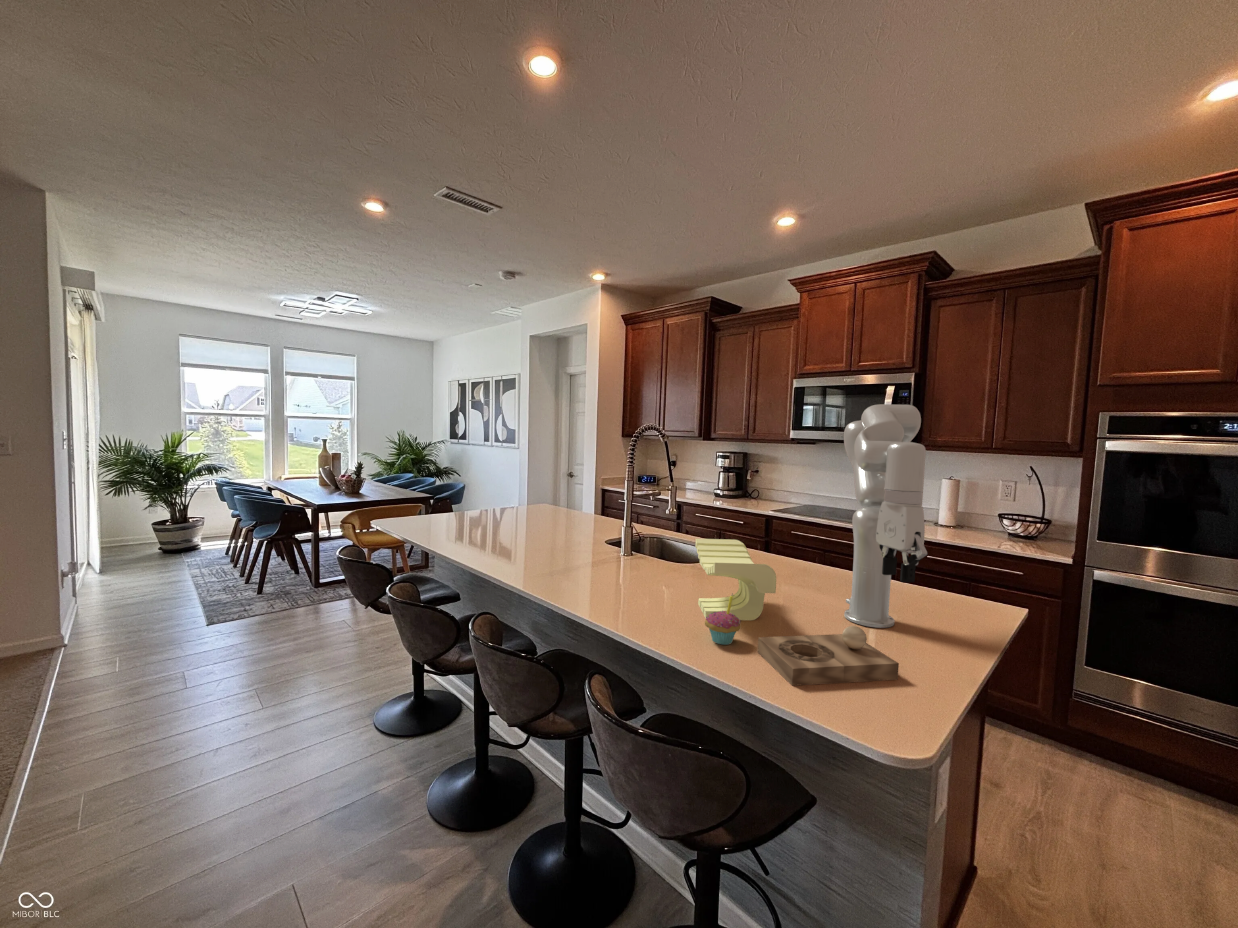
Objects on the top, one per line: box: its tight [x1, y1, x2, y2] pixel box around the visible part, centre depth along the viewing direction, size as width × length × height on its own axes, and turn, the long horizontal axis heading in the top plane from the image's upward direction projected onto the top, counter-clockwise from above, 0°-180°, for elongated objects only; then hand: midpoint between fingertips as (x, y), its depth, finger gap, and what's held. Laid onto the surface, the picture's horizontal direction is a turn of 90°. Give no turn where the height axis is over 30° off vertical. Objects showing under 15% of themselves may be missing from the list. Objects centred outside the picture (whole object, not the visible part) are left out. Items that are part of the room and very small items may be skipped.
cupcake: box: [704, 592, 742, 646], centre depth 125 cm, size 9×8×12 cm
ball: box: [841, 625, 868, 649], centre depth 115 cm, size 5×5×5 cm
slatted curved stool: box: [695, 538, 777, 621], centre depth 146 cm, size 30×16×18 cm, turn 1°
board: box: [757, 633, 900, 686], centre depth 114 cm, size 24×16×4 cm, turn 100°
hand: (897, 577), depth 116 cm, fingers open, 5 cm apart
